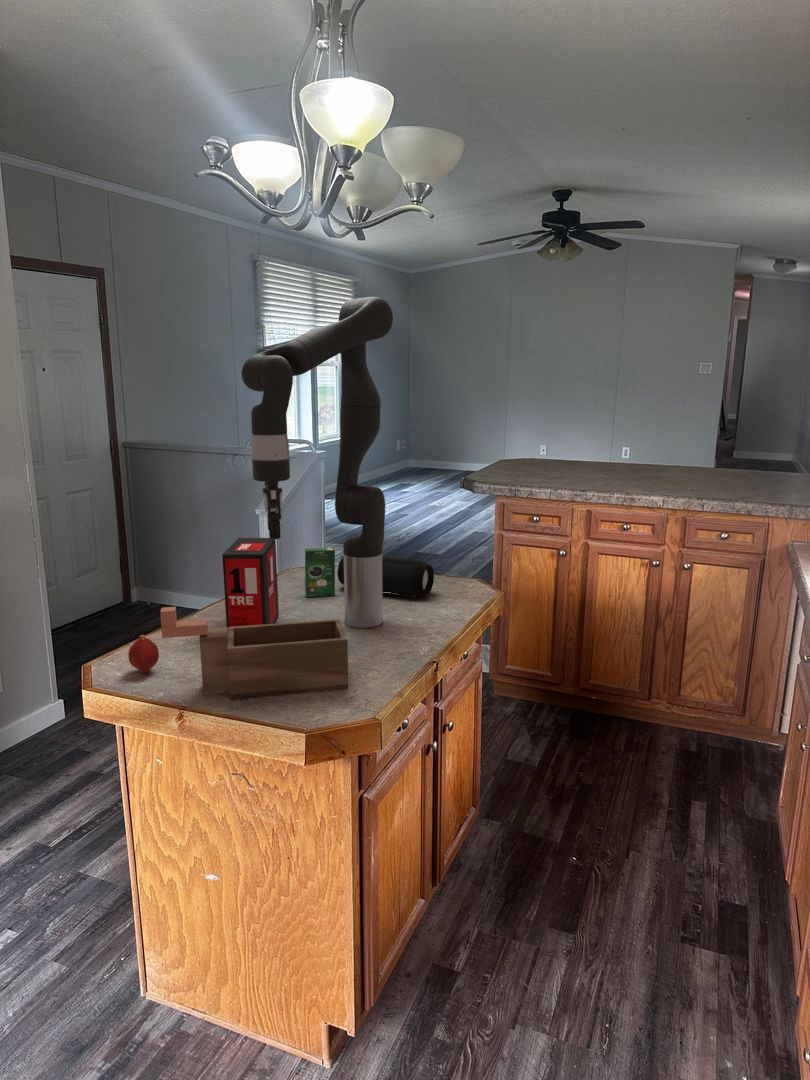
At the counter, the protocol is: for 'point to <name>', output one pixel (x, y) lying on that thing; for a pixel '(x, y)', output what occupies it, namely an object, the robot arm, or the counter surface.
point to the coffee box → (320, 572)
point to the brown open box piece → (275, 659)
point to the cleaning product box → (251, 582)
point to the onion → (143, 654)
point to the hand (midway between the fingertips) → (274, 534)
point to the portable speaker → (402, 576)
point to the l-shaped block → (180, 625)
